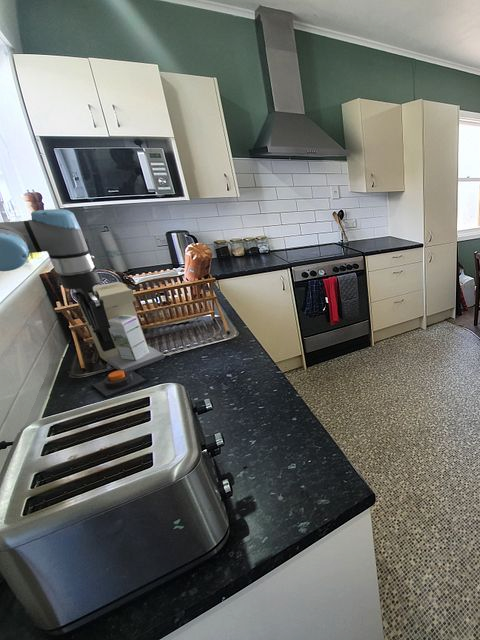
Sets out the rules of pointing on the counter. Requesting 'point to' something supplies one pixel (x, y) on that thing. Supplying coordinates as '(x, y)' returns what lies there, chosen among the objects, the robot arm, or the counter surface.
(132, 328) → the syrup box
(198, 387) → the counter surface
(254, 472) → the counter surface
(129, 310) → the coffee machine
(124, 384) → the control block
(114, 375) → the button
